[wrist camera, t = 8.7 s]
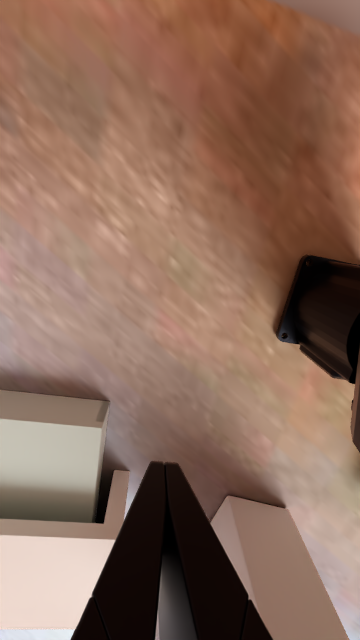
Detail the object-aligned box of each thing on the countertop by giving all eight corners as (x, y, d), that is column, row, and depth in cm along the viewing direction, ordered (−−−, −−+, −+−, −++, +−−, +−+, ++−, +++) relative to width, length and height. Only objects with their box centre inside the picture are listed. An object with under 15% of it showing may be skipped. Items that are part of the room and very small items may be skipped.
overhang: (-59, 456, 21) (-130, 529, 16) (135, 471, 23) (128, 540, 18) (-48, 545, 24) (-104, 629, 19) (120, 551, 26) (111, 629, 21)
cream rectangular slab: (-24, 387, 19) (-56, 413, 16) (109, 401, 21) (101, 428, 18) (-14, 531, 24) (-37, 571, 21) (94, 535, 25) (85, 573, 23)
